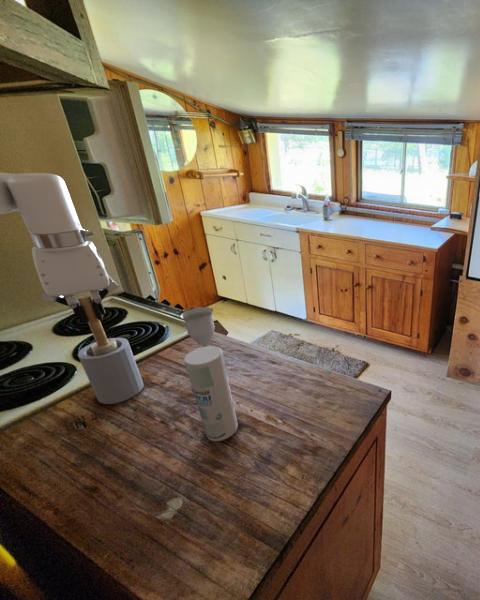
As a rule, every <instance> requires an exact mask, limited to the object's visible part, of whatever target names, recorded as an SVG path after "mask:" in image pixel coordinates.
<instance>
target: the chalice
mask: <svg viewBox="0 0 480 600" xmlns="http://www.w3.org/2000/svg"><path fill="white" fill-rule="evenodd" d="M213 313H214V309H213V308H212V307H208V306H201V307H194V308H191V309H188V310H186V311H184V312H183V313H181V315H180V318H181V319H182V320H183V321H184V325H185V328H186V332H187V334H188V336H189V337H190V338H191V339H192V340H193V341H194V342H195V343H196V344H197V345H199V346H202V347H206V346H209V344H210V343H212V339H213V337H214V333H215V328H216V326H215V321H214V318H213Z"/></svg>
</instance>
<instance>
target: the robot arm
mask: <svg viewBox="0 0 480 600" xmlns="http://www.w3.org/2000/svg"><path fill="white" fill-rule="evenodd" d="M13 212H14V213H15V212H19V215H20V216H21V218H22V221H23V223H24V225H25V227H26V229H27V232H28V234H29V236H30V239H31V241H32V243H33V245H34V246H33V247H32V248H31V255H32V259H33V263H34V267H35V270H36V273H37V276H38V279H39V282H40V284H41V286H42V291H41V298H40V300H41V301H42V302H46V303H58V304H61V305H63V306H66V307H69V308H70V309H72V311H73V313H74V316H75V318H76V320H77V321H80V320H81V322H82V324H83V325H85V324H88V321H87V319H86V316H85V314H84V312H83V309H82V307H81V305H80V302H79V300H78V299H77V298H76V295H77V294H81V293H82V294H83V293H87V292H90V294H91V298H92V302H93V307H94V310H95V312H96V315H97V317H98V320H100V321H103V320H104V317H103V315H106V310H105V307H104V305H103V303H102V302H103V300H104V299H105V297H107V295H108V294H109V293H112V292H113V291H115V290H117V289H118V288H119V284H118V283H117V282H116V281H115V280H114V279H113V278H112V277H111V276H110V275H109V273H108V271H107V270H108V269H107V267H106V265H105V263H104V261H103V258H102V256H101V254H100V253H99V250H98V249H97V247H96V246H95V244H94V243H93V241H91V240H88V239H90V238H94V237H95V234H94V231H93V230H92V229H91V230H88V229H84V228H83V226H82V225H81V222H80V219H79V217H78V214H77V212H76V208H75V206H74V203H73V200H72V198H71V195H70V193H69V190H68V188H67V185H66V183H65V181H64V179H63V178H62V177H61V176H59V175H57V174H54V173H46V172H26V173H11V172H2V171H0V216H1V215H5V214H10V213H13ZM75 294H76V295H75Z"/></svg>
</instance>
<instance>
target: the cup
mask: <svg viewBox="0 0 480 600" xmlns="http://www.w3.org/2000/svg"><path fill="white" fill-rule="evenodd" d="M109 339H114V340H115V341H116V344H117V346H118V349H117V350H115V351H112V352H110V353H107V354H104V355H99V356H94V354H93V352H92V349H91V345H92V344H94V343H96V341H94V342H92V343H90V344H88V345H86V346H84V347H82V348H80V350H79V351H78V353H77V357H78V359H79V362H80V364H81V366H82V368H83V371H84V372H85V374H86V375H85V376H86V377H87V380H88V381H89V383H90V386H91V388H92V390H93V393H94V395H95V397H96V399H97V401H98V402H99V403H100V404H104V405H112V404H118V403H121V402H124V401H127V400H129V399H131V398H133V397H135V396H136V395H139V393H141V391H142V390H143V388H144V381H143V378H142V376H141V373H140V369H139V368H138V364H137V362H136V359H135V356H134V354H133V351H132V348H131V345H130V343H129V340H128V339H127V338H124V337H111V338H110V337H109Z"/></svg>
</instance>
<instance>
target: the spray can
mask: <svg viewBox="0 0 480 600" xmlns="http://www.w3.org/2000/svg"><path fill="white" fill-rule="evenodd" d="M183 363H184V365H185V369H186V372H187V376H188V379H189V382H190V385H191V389H192V392H193V396H194V399H195V402H196V405H197V409H198V412H199V415H200V419H201V422H202V425H203V429H204V433H205V435H206V437H207V439H208V440H209V441H212V442H221V441H224V440H227V439H229V438H230V437H232V436H233V435H234V434H235V433H236V432H237V430H238V425H239V424H238V423H239V422H238V419H237V414H236V409H235V404H234V401H233V400H234V399H233V396H232V391H231V387H230V382H229V378H228V373H227V368H226V363H225V358H224V354H223V350H222V349H221V348H220V347H218V346H215V345H208V346H206V347H203V346H201V347H198V348H194V349H193V350H191V351H189V352H188V353H186V355H185V356H184V358H183Z"/></svg>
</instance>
